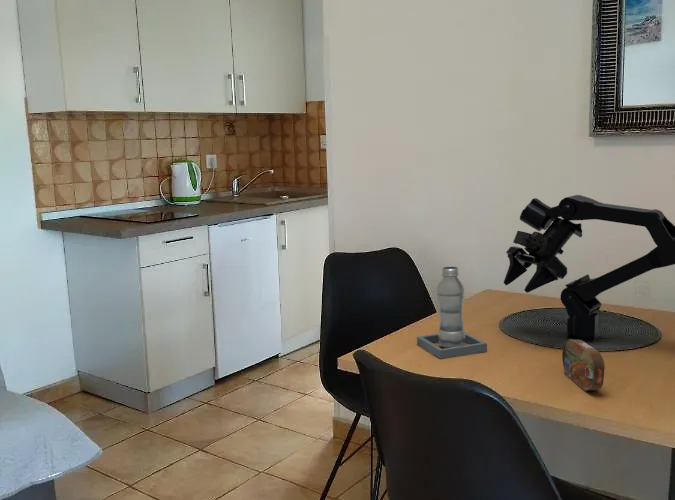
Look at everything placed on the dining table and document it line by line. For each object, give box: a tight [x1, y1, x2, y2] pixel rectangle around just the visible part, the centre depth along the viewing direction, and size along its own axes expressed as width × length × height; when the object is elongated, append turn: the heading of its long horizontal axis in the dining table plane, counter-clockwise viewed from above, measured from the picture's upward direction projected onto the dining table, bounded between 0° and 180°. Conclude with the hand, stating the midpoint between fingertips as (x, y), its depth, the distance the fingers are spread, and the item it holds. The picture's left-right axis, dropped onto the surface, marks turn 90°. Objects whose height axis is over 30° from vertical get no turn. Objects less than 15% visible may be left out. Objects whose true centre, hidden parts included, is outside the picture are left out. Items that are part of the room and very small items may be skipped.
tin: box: [561, 338, 606, 392], centre depth 138 cm, size 15×3×8 cm, turn 4°
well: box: [416, 331, 488, 360], centre depth 165 cm, size 12×12×2 cm
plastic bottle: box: [436, 266, 466, 349], centre depth 163 cm, size 6×7×20 cm
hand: (515, 287), depth 166 cm, fingers open, 9 cm apart
